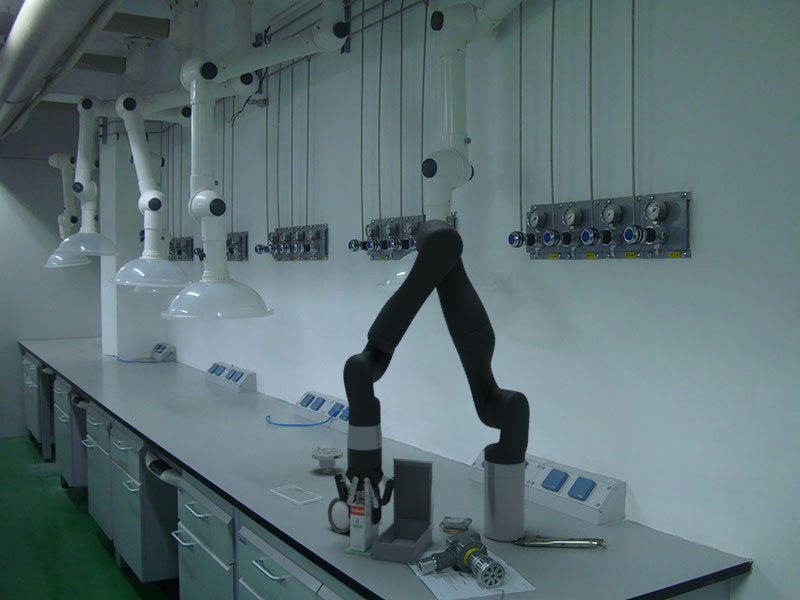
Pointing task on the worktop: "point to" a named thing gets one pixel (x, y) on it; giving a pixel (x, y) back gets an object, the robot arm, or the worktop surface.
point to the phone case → (273, 491)
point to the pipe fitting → (340, 513)
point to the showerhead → (327, 457)
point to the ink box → (362, 523)
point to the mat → (365, 553)
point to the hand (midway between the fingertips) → (364, 521)
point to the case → (409, 512)
